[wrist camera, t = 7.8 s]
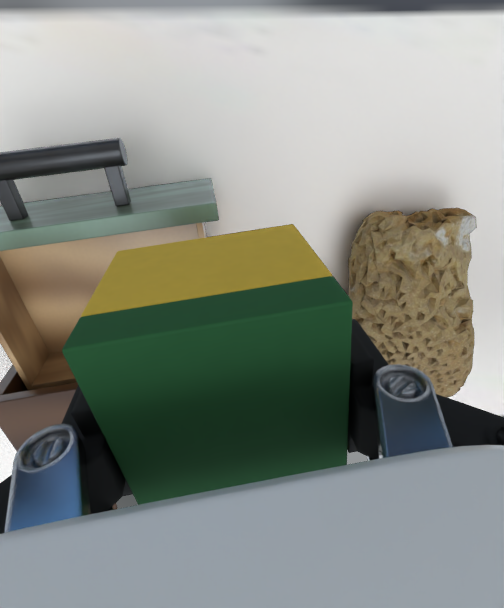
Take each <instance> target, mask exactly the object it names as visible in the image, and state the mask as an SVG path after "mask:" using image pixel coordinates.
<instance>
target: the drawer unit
mask: <svg viewBox="0 0 504 608" xmlns="http://www.w3.org/2000/svg"><path fill="white" fill-rule="evenodd" d="M77 387H78V383H77V382H73V383H67V384H61V385H55V386H49V387H43V388H37V389H32V390H28V389H27V388H26V386H25V384H24V383H23V381H22V379H21V377H20V376H19V374H18V372H17V371H16V369H15V367H14V366H13V365H12V366H11V368H10V369H9V371H8V372H7V374H6V375H5V376H4V378H3V379H2V381H1V382H0V428H1V429H2V431H3V432H4V433H5V435H6V436H7V438H8V439H9V441H10V442H11V443H12V445H13V446H14V448H15V449H16V451H18V450H19V448H20V447H21V445H22V444H23V443H24V442H25V441H26V440H27V439H28V438H30V437H31V436H32V435H34V434H35V433H37V432H38V431H40V430H42V429H44V428H46V427H49V426H52V425H56V424H61V423H62V421H63V419H64V416H65V414H66V412H67V410H68V407H69V405H70V403H71V400H72V398H73V396H74V393H75V391H76V389H77Z"/></svg>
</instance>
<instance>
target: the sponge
mask: <svg viewBox="0 0 504 608" xmlns="http://www.w3.org/2000/svg"><path fill="white" fill-rule="evenodd" d="M475 228H476V217H475V216H473V215H472V214H470V213H469V212H467V211H466V210H463V209H460V208H445V209H439V210H435V209H430V210H428V211H420V212H415V213H413V214H411V215H408V216H405V215H402V212H400V211H393V212H384V211H376V212H374V213H372V214H370V215H368V216H367V217H366V218H365V219H364V220H363V224H362V225H361V226H360V228H359V230H358V231H357V235H356V238H355V239H354V240H353V244H352V247H351V249H352V252H351V256H350V257H349V259H348V265H349V297H350V299H351V300H352V302H353V307H352V319H356V320H357V321H358V323H359V324H360V325H361V327H362V328H363V330H364V331H365V332H366V334H367V335H368V336H369V338H370V339H371V341H372V342H373V343H374V345H375V346H376V348H377V349H378V350H379V352H380V353H381V354H382V356H383V357H384V359H385V360H386V361H387V363H388V364H389V365H394V364H400V365H407V366H410V367H413V368H416V369H418V370H420V371H422V372H423V373H424V374H426V375H427V376H428V377H429V378H430V380H431V382H432V384H433V386H434V389H435V392H436V394H438V395H441V396H444V397H446V398H447V397H450V396H453V395H454V394H455V393H457V392H458V391H459V390H460V387H462V386H463V385H464V383H465V381H466V378H467V376H468V375H469V374H470V371H471V369H472V361H473V348H474V328H473V326H472V313H473V300H472V299H471V298H470V294H469V290H468V286H467V270H468V266H469V262H470V260H471V258H472V257H471V244H470V236H469V234H470V233H471V232H472V231H473V230H474V229H475Z"/></svg>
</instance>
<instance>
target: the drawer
mask: <svg viewBox="0 0 504 608" xmlns="http://www.w3.org/2000/svg"><path fill="white" fill-rule="evenodd" d="M125 165H127V154H126V150H125V146H124V144H123V141H122V140H121V138H115V139H106V140H98V141H90V142H82V143H74V144H65V145H57V146H49V147H41V148H33V149H24V150H16V151H8V152H0V202H1V204H2V206H0V343H1V345H2V347H3V348H4V350H5V352H6V354H7V355H8V357H9V359H10V360H11V362H12V364H13V366H14V367H15V369H16V371H17V372H18V374H19V376H20V377H21V379H22V381H23V383H24V384H25V386H26V388H27V389H28V390H32V389H37V388H43V387H49V386H55V385H61V384H67V383H73V382H77V381H76V379H75V377H74V375H73V373H72V371H71V369H70V367H69V365H68V363H67V361H66V359H65V357H64V355H63V353H62V348H63V347H64V345H65V343H66V341H67V340H68V338H69V336H70V334H71V332H72V331H73V329H74V327H75V325H76V324H77V322H78V320H79V318H81V314H82V313H83V311H84V309H85V307H86V306H87V304H88V302H89V300H90V299H91V297H92V295H93V293H94V292H95V290H96V288H97V286H98V285H99V283H100V281H101V279H102V277H103V276H104V274H105V272H106V270H107V269H108V267H109V265H110V263H111V262H112V260H113V258H114V256H115V255H116V253H117V252H118V251H122V250H128V249H135V248H141V247H147V246H154V245H160V244H167V243H173V242H180V241H186V240H193V239H199V238H206V237H207V235H206V229H205V224H204V222H210V221H217V220H219V218H218V211H217V205H216V199H215V195H214V190H213V185H212V180H211V178H209V179H202V180H194V181H186V182H179V183H171V184H164V185H156V186H149V187H141V188H134V189H128V188H127V184H126V181H125V177H124V173H123V170H122V166H125ZM101 168H104V169H105V172H106V176H107V179H108V182H109V186H110V189H111V192H103V193H96V194H88V195H81V196H73V197H66V198H58V199H50V200H43V201H35V202H28V203H23V201H22V199H21V196H20V194H19V192H18V190H17V187H16V185H15V183H14V180H15V179H23V178H31V177H39V176H46V175H54V174H62V173H70V172H78V171H86V170H93V169H101Z"/></svg>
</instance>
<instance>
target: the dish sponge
mask: <svg viewBox="0 0 504 608" xmlns="http://www.w3.org/2000/svg"><path fill="white" fill-rule="evenodd" d="M352 307H353V302H352V300H351V299H350V297H349V296H348V295H347V294H346V292H345V291H344V290H343V288H342V287H341V286H340V285H339V283H338V282H337V281H336V279H335V278H334V277H333V276H332V274H331V273H330V271H329V270H328V269H327V267H326V266H325V265H324V263H323V262H322V261H321V260H320V258H319V257H318V256H317V254H316V253H315V252H314V251H313V249H312V248H311V247H310V245H309V244H308V243H307V241H306V240H305V239H304V238H303V236H302V235H301V234H300V232H299V231H298V230H297V229H296V227H295V226H294V225H293V224H290V225H284V226H277V227H271V228H264V229H258V230H251V231H245V232H238V233H232V234H225V235H219V236H212V237H206V238H199V239H193V240H186V241H180V242H173V243H167V244H160V245H154V246H147V247H141V248H135V249H128V250H122V251H118V252H117V253H116V255H115V256H114V258H113V260H112V262H111V263H110V265H109V267H108V269H107V270H106V272H105V274H104V276H103V277H102V279H101V281H100V283H99V285H98V286H97V288H96V290H95V292H94V293H93V295H92V297H91V299H90V300H89V302H88V304H87V306H86V307H85V309H84V311H83V313H82V314H81V318H79V320H78V322H77V324H76V325H75V327H74V329H73V331H72V332H71V334H70V336H69V338H68V340H67V341H66V343H65V345H64V347H63V348H62V353H63V355H64V357H65V359H66V361H67V363H68V365H69V367H70V369H71V371H72V373H73V375H74V377H75V379H76V381H77V383H78V385H79V387H80V389H81V391H82V393H83V395H84V397H85V399H86V401H87V403H88V405H89V407H90V409H91V411H92V413H93V415H94V417H95V419H96V421H97V423H98V425H99V427H100V429H101V431H102V433H103V435H104V437H105V439H106V441H107V443H108V445H109V447H110V449H111V451H112V453H113V455H114V457H115V459H116V461H117V463H118V465H119V467H120V469H121V471H122V473H123V475H124V477H125V479H126V481H127V483H128V485H129V487H130V489H131V491H132V493H133V495H134V497H135V499H136V501H137V503H138V505H140V504H145V503H150V502H155V501H160V500H165V499H170V498H175V497H181V496H186V495H191V494H196V493H201V492H206V491H212V490H217V489H222V488H227V487H232V486H237V485H243V484H248V483H253V482H258V481H264V480H269V479H274V478H279V477H284V476H290V475H295V474H300V473H306V472H311V471H316V470H322V469H327V468H332V467H338V466H343V465H347V440H348V414H349V387H350V361H351V334H352Z"/></svg>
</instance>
